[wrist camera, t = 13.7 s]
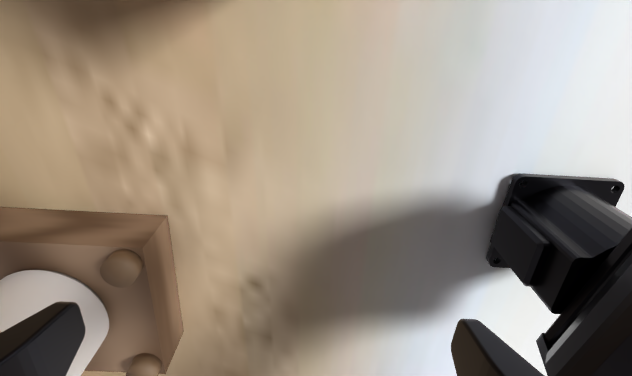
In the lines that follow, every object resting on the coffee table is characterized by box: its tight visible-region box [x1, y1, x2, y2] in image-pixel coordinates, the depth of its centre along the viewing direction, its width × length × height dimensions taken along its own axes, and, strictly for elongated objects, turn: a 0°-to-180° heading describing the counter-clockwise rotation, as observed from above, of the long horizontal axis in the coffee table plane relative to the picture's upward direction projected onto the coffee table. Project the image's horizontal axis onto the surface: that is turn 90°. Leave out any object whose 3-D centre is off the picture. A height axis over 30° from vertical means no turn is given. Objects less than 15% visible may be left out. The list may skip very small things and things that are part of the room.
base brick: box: [0, 207, 184, 376], centre depth 22 cm, size 12×10×4 cm
